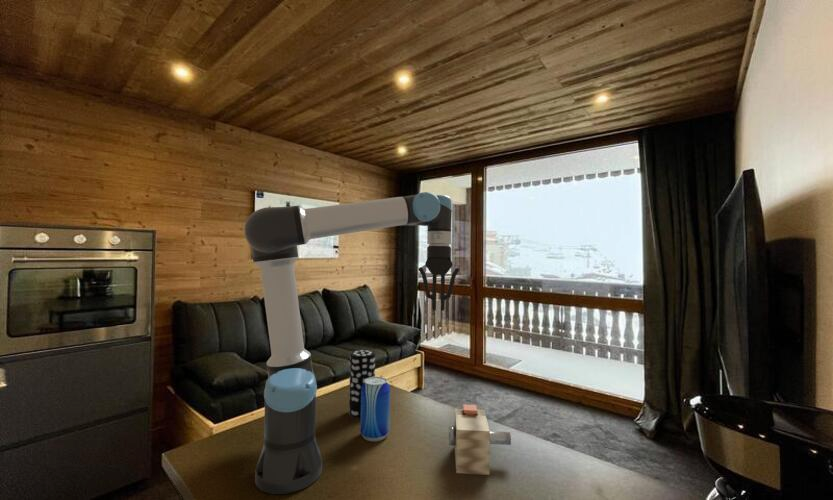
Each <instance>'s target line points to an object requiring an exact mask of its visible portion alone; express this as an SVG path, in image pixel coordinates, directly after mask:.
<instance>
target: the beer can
mask: <svg viewBox="0 0 833 500" xmlns="http://www.w3.org/2000/svg"><path fill="white" fill-rule="evenodd" d="M364 382H365V383H364V384H363V386H362V388H361V419H360V431H359V432H360V435H361V436H362V438H363V439H364V440H366V441H369V442H380V441H382V440H384V439H386V438H387V436H388V435H389V433H390V419H391V418H390V417H391V416H390V414H391V413H390V411H391V410H390V407H391V406H390V405H391V387H390V385H389V383H388V380H387V378H385V377H383V376H375V377H370V378H367V379H365V381H364Z"/></svg>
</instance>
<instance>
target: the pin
mask: <svg viewBox="0 0 833 500" xmlns="http://www.w3.org/2000/svg"><path fill="white" fill-rule="evenodd" d="M511 436H512V435H511V431H501V430H500V431H498V430H490V445H505V446H511V443H512V438H511ZM455 444H456V429H455V425H449V426H448V446H449V447H450V446H452V447H454V446H455Z"/></svg>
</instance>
